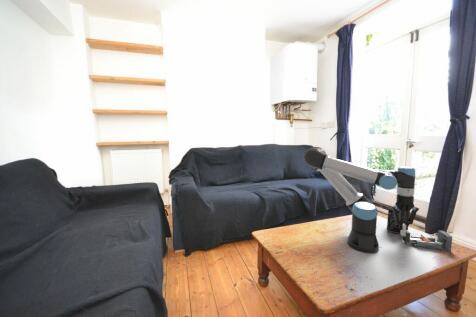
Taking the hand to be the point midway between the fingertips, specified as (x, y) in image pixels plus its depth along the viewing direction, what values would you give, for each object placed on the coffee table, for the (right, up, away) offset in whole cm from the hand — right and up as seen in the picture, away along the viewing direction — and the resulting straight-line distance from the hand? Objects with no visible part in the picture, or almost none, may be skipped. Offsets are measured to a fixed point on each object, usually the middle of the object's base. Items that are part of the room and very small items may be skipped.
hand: (402, 235), depth 119 cm
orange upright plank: (+10, -4, -2) cm, 11 cm away
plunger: (+5, -4, -1) cm, 6 cm away
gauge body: (+12, -5, -3) cm, 13 cm away
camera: (+8, -3, +15) cm, 17 cm away
